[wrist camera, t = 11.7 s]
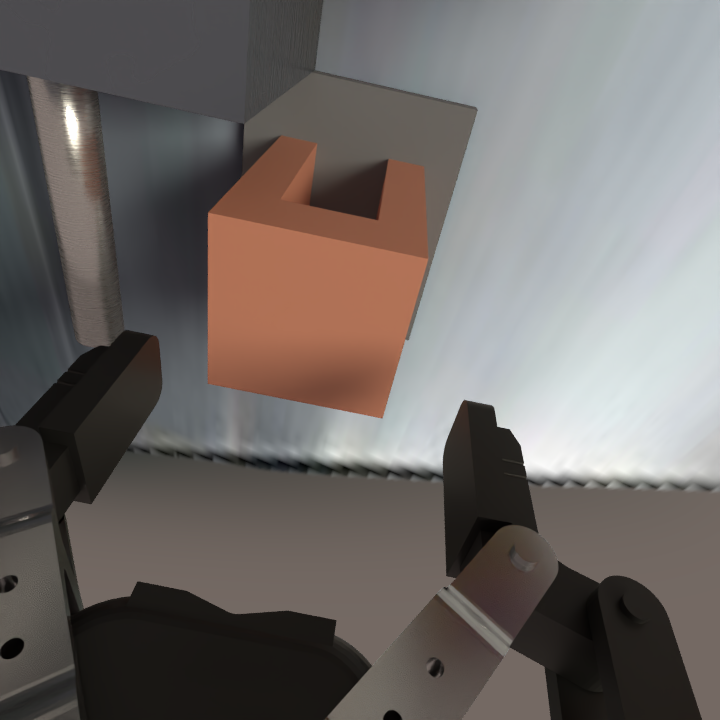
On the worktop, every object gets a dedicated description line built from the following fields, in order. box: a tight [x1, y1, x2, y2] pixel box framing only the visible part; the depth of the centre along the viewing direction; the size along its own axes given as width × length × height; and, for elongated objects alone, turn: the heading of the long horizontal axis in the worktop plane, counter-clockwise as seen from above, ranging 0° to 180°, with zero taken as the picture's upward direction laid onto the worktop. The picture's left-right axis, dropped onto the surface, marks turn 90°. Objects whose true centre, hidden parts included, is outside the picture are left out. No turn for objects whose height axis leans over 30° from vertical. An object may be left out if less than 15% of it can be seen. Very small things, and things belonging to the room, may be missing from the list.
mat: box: [242, 71, 477, 340], centre depth 23 cm, size 9×11×1 cm
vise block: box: [0, 0, 323, 347], centre depth 16 cm, size 18×9×13 cm, turn 169°
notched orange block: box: [208, 135, 428, 418], centre depth 19 cm, size 6×6×9 cm
